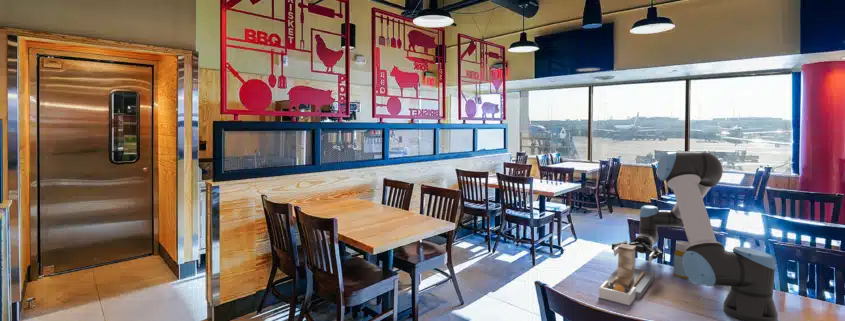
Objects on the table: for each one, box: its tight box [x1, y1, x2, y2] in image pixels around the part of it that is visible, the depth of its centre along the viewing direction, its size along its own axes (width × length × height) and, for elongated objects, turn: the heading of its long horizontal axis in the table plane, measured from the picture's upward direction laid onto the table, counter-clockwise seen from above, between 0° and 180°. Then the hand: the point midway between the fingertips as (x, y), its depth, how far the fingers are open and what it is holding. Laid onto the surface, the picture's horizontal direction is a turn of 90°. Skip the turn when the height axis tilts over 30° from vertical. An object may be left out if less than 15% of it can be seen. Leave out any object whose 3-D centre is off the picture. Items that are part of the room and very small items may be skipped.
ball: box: [614, 285, 625, 293], centre depth 164 cm, size 4×4×4 cm
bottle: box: [672, 240, 690, 280], centre depth 182 cm, size 7×7×15 cm
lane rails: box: [610, 272, 645, 290], centre depth 173 cm, size 8×21×1 cm, turn 140°
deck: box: [601, 267, 656, 300], centre depth 175 cm, size 14×26×2 cm, turn 140°
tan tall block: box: [615, 244, 636, 288], centre depth 169 cm, size 5×8×15 cm, turn 140°
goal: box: [598, 280, 637, 307], centre depth 162 cm, size 11×9×4 cm
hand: (631, 255), depth 177 cm, fingers open, 13 cm apart
